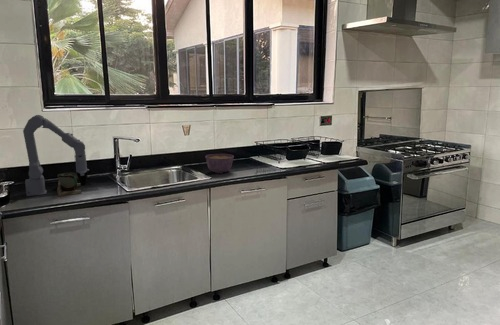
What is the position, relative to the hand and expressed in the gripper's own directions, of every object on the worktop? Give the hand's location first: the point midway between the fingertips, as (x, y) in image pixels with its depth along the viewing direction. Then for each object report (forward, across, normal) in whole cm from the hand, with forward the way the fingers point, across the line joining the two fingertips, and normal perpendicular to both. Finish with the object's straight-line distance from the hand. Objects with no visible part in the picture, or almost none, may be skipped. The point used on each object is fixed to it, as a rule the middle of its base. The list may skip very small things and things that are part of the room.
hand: (83, 185), depth 219 cm
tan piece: (+2, 0, +7) cm, 8 cm away
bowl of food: (+3, +8, -88) cm, 89 cm away
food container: (+2, 0, +6) cm, 7 cm away
